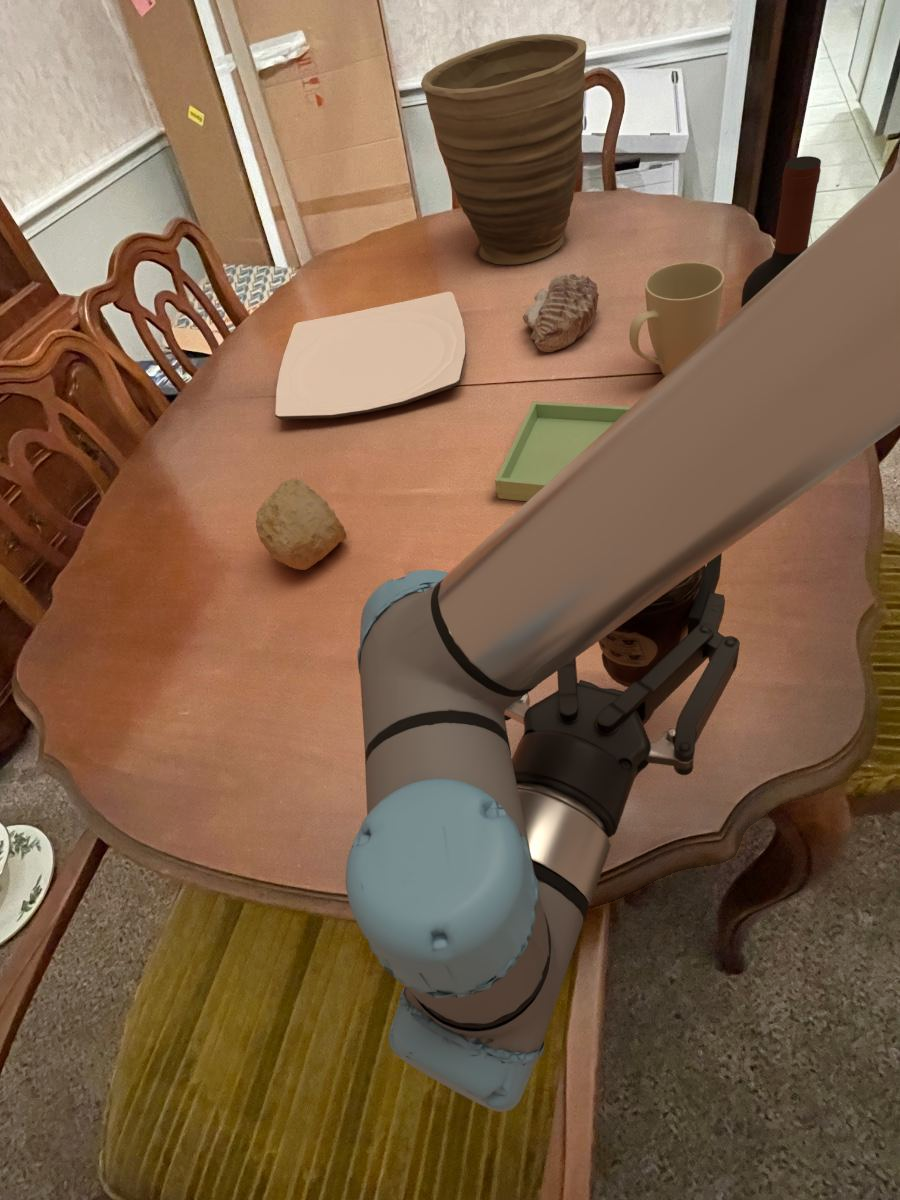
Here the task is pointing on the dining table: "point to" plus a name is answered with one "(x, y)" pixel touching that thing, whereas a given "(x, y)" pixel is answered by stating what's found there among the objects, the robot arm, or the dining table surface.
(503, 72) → the vase
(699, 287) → the mug
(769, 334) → the robot arm
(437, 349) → the plate
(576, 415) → the tray
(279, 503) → the tan rock
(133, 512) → the dining table surface
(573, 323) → the seashell
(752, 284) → the wine bottle
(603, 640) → the coffee cup
